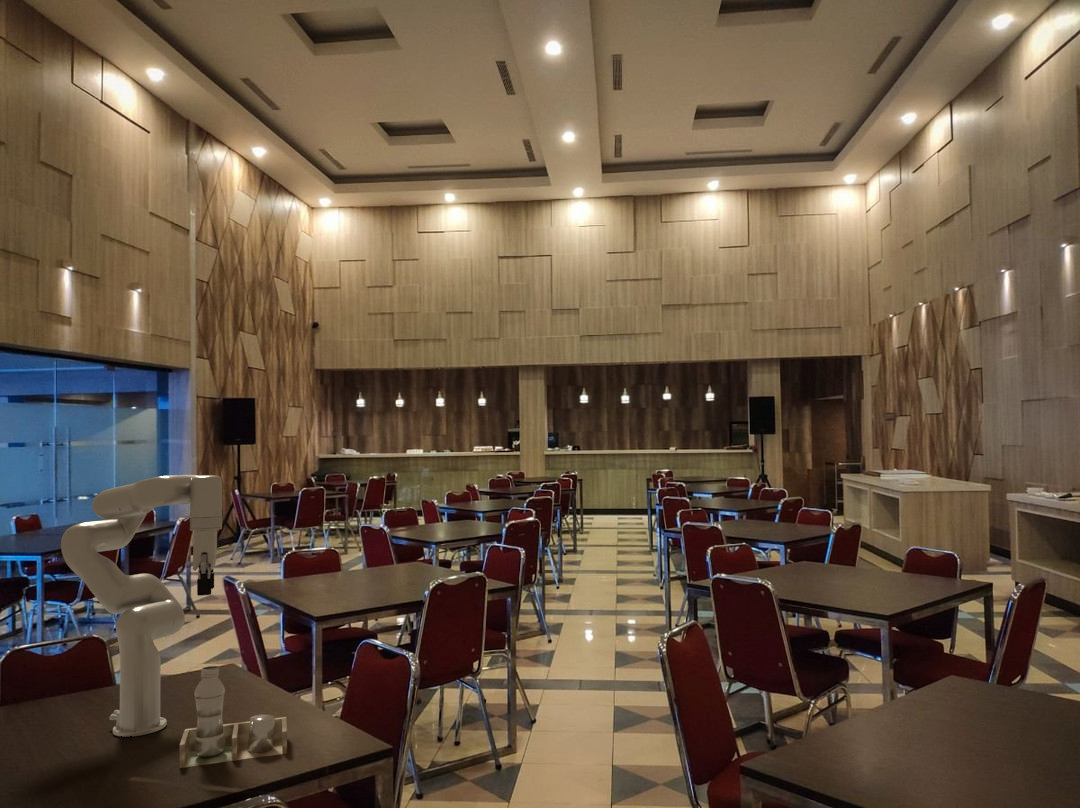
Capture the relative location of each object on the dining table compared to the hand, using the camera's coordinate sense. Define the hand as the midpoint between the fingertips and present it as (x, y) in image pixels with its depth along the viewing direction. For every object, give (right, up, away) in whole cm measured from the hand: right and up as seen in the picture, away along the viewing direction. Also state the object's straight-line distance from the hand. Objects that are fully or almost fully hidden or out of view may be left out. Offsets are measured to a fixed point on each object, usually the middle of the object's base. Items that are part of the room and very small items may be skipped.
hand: (205, 591), depth 201 cm
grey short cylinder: (+18, -34, -13) cm, 41 cm away
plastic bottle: (+8, -35, -16) cm, 39 cm away
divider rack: (+13, -35, -14) cm, 40 cm away
